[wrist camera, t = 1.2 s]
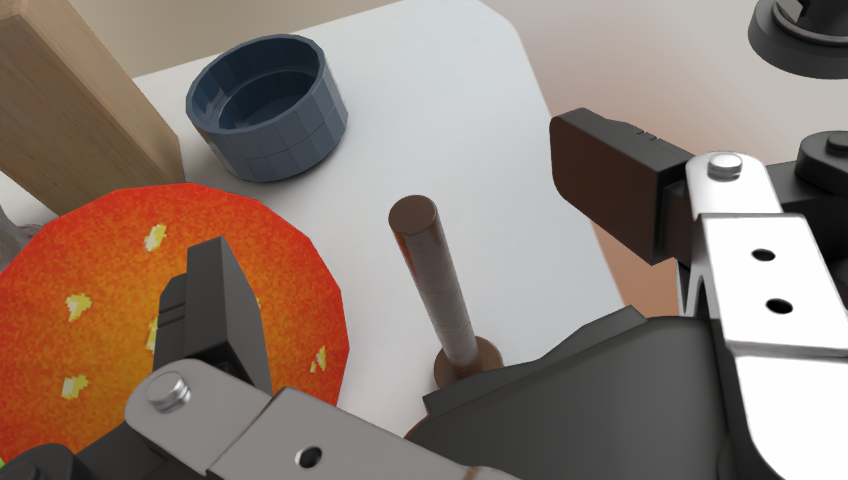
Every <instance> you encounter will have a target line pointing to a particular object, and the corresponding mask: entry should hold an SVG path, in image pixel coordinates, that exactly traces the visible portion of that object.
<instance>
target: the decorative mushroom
mask: <svg viewBox="0 0 848 480" xmlns="http://www.w3.org/2000/svg"><path fill="white" fill-rule="evenodd" d="M221 235H222V236H223V237H224V238H225V239H226V241H227V242H228V244H229V246H230V248H231V250H232V252H233V254H234V256H235V257H236V259H237V261H238V263H239V265H240V267H241V269H242V271H243V273H244V275H245V277H246V279H247V281H248V283H249V284H250V286H251V288H252V290H253V293H254V295H255V297H256V300H257V303H258V306H259V309H260V313H261V318H262V324H263V331H264V337H265V343H266V350H267V356H268V363H269V369H270V375H271V382H272V388H273V395H275V394H276V393H277V392H278V391H279V390H280V389H281V388H282V387H283V386H290V387H294V388H296V389H298V390H301V391H303V392H305V393H307V394H309V395H311V396H313V397H316V398H318V399H320V400H322V401H324V402H326V403H328V404H331V405H333V406H335V407H336V404H337V400H338V396H339V392H340V387H341V383H342V379H343V375H344V370H345V366H346V362H347V358H348V353H349V342H348V336H347V329H346V323H345V316H344V310H343V303H342V297H341V290H340V288H339V286H338V285H337V283H336V282H335V280H334V278H333V277H332V275H331V273H330V272H329V270H328V268H327V267H326V265H325V263H324V262H323V260H322V259H321V257H320V255H319V254H318V252H317V250H316V249H315V247H314V245H313V244H312V242H311V240H310V239H309V238H308V237H307V236H306V235H304V234H303V233H302V232H300V231H299V230H297V229H296V228H295V227H293V226H292V225H291V224H289V223H288V222H287V221H285V220H284V219H283V218H281V217H280V216H278V215H277V214H276V213H274V212H273V211H272V210H270V209H269V208H268V207H266V206H265V205H263V204H262V203H261V202H259V201H258V200H255V199H251V198H248V197H244V196H240V195H236V194H233V193H229V192H225V191H221V190H218V189H214V188H210V187H206V186H203V185H199V184H195V183H191V182H189V183H179V184H169V185H158V186H148V187H138V188H127V189H117V190H115V191H112V192H110V193H108V194H106V195H104V196H102V197H100V198H98V199H96V200H94V201H92V202H90V203H88V204H86V205H84V206H82V207H80V208H78V209H76V210H74V211H71V212H69V213H67V214H65V215H63V216H61V217H59V218H57V219H55V220H53V221H51V222H49V223H47V224H45V225H44V226H43V228H42V229H41V230H40V231H39V232H38V233H37V234H36V235H35V236H34V237H33V239H32V240H31V241H30V242H29V243H28V244H27V245H26V246H25V247H24V248H23V250H22V251H21V252H20V253H19V254H18V255H17V256H16V257H15V258H14V259H13V261H12V262H11V263H10V264H9V265H8V266H7V267H6V268H5V269H4V270H3V272H2V273H1V274H0V458H1V459H2V461H3V462H4V463H5V464H6V463H8V462H9V461H10V460H12V459H13V458H15V457H16V456H18V455H20V454H21V453H23V452H25V451H27V450H29V449H31V448H34V447H36V446H39V445H43V444H48V443H60V444H63V445H65V446H66V447H68V448H69V449H70V450H71V451H72V452H73V453H74V454H76V453H78V452H79V451H81V450H83V449H84V448H86V447H87V446H89V445H90V444H92V443H93V442H95V441H96V440H98V439H99V438H101V437H102V436H104V435H105V434H107V433H108V432H110V431H111V430H113V429H114V428H116V427H117V426H118V425H120V424H121V423H122V422H123V421H125V415H124V411H125V406H126V403H127V401H128V399H129V397H130V395H131V394H132V392H133V391H134V389H135V388H136V387H137V386H138V385H139V384H140V383H141V382H142V381H143V380H144V379H145V378H146V377H147V376H149V375H150V374H151V373H152V369H153V359H154V349H155V339H156V330H157V329H158V327H157V320H158V315H159V312H158V310H159V300H160V295H161V293H162V292H163V290H164V289H165V287H166V285H167V284H168V282H169V281H170V279H171V278H172V277H175V276H177V275H180V274H183V273H186V270H187V249H188V247H191V246H193V245H196V244H199V243H202V242H205V241H207V240H210V239H213V238H216V237H219V236H221Z"/></svg>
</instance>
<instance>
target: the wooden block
mask: <svg viewBox="0 0 848 480" xmlns="http://www.w3.org/2000/svg"><path fill="white" fill-rule="evenodd" d="M0 170H1V171H2V172H3V173H4V174H6V175H7V176H8V177H10V178H11V179H12V180H13V181H15V182H16V183H17V184H19V185H20V186H21V187H22V188H24V189H25V190H26V191H27V192H29V193H30V194H31V195H33V196H34V197H35V198H36V199H38V200H39V201H40V202H42V203H43V204H44V205H45V206H47V207H48V208H49V209H51V210H52V211H53V212H54V213H56V214H57V215H58V216H59V217H61V216H63V215H65V214H67V213H69V212H71V211H74V210H76V209H78V208H80V207H82V206H84V205H86V204H88V203H90V202H92V201H94V200H96V199H98V198H100V197H102V196H104V195H106V194H108V193H110V192H112V191H115V190H117V189H127V188H138V187H148V186H158V185H169V184H179V183H185V179H184V172H183V166H182V160H181V154H180V147H179V141H178V137H177V135H176V134H175V133H174V132H173V130H172V129H171V128H170V127H169V125H168V124H167V123H166V122H165V120H164V119H163V118H162V117H161V115H160V114H159V113H158V112H157V110H156V109H155V108H154V107H153V106H152V104H151V103H150V102H149V101H148V99H147V98H146V97H145V96H144V94H143V93H142V92H141V91H140V89H139V88H138V87H137V86H136V84H135V83H134V82H133V81H132V79H131V78H130V77H129V76H128V75H127V73H126V72H125V71H124V70H123V69H122V67H121V66H120V65H119V63H118V62H117V61H116V60H115V58H114V57H113V56H112V55H111V53H110V52H109V51H108V50H107V48H106V47H105V46H104V45H103V44H102V43H101V41H100V40H99V39H98V37H97V36H96V35H95V34H94V32H93V31H92V30H91V29H90V27H89V26H88V25H87V24H86V22H85V21H84V20H83V19H82V18H81V16H80V15H79V14H78V13H77V11H76V10H75V9H74V8H73V7H72V5H71V4H70V3H69V1H68V0H0Z"/></svg>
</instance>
